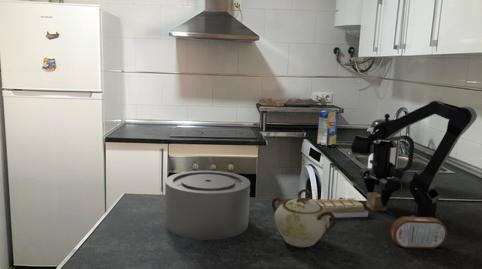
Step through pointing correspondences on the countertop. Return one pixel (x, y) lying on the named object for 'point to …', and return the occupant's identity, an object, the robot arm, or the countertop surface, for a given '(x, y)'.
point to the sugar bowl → (301, 220)
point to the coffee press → (395, 150)
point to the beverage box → (327, 127)
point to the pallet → (340, 204)
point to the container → (206, 204)
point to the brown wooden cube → (375, 201)
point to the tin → (418, 232)
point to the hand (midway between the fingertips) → (377, 202)
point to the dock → (350, 213)
